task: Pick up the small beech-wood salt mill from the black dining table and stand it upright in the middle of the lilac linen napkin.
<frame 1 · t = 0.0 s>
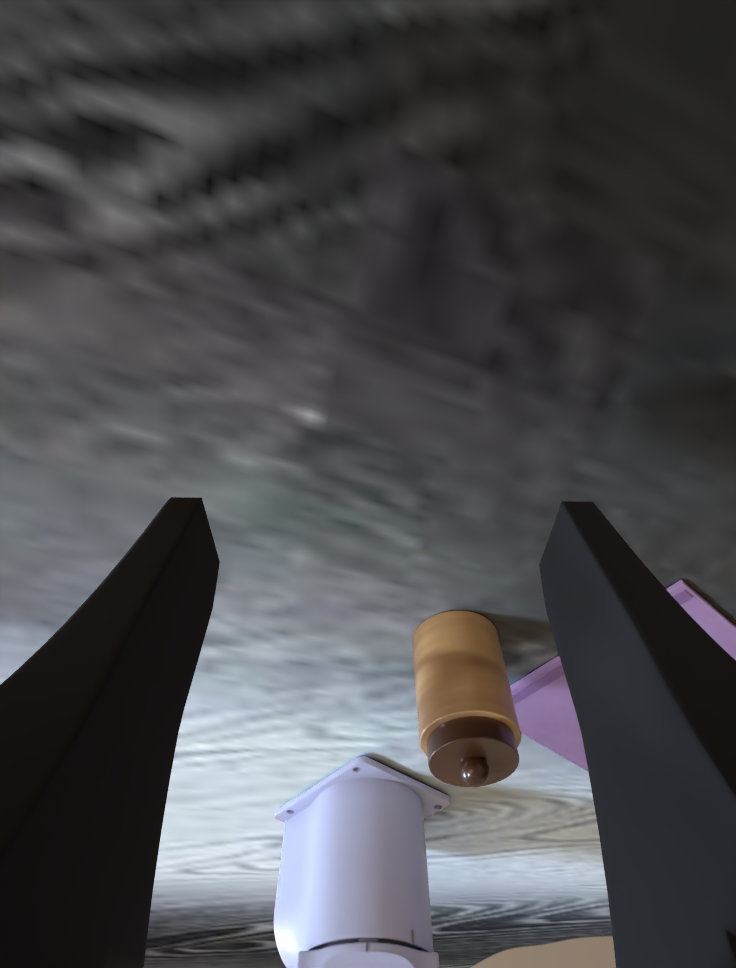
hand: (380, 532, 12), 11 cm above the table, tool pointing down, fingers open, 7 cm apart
salt mill: (454, 639, 29), on the table
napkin: (677, 721, 33), on the table
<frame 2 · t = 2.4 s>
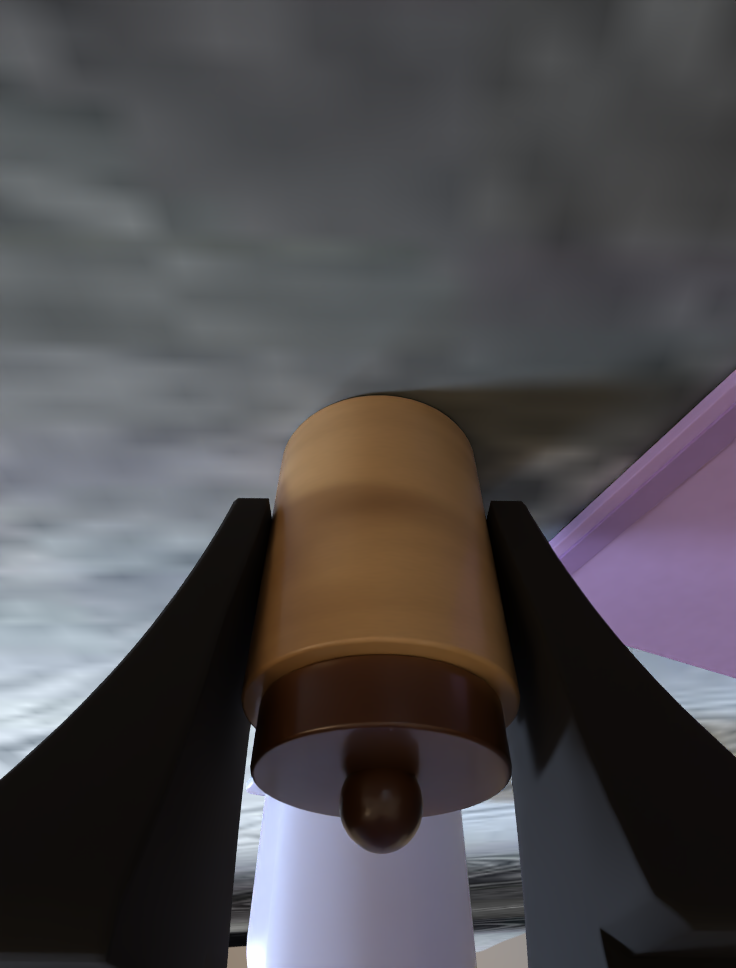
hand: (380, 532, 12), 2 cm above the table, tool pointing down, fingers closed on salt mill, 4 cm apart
salt mill: (378, 473, 13), on the table, touching gripper
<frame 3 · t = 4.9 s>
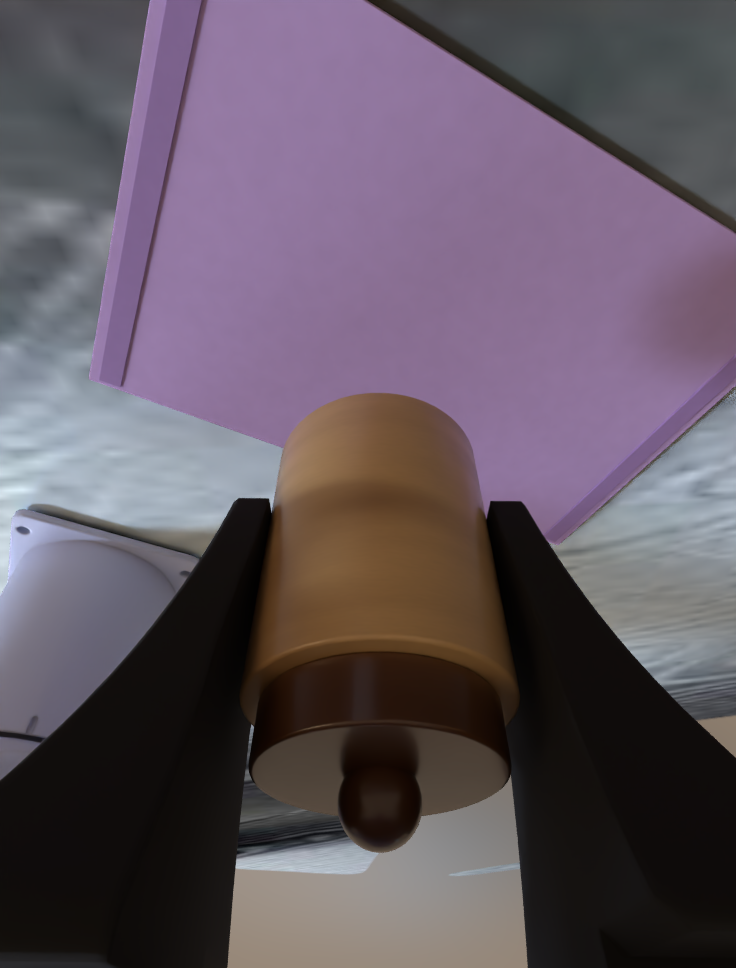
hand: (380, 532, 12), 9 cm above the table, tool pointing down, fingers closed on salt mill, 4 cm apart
salt mill: (377, 471, 13), point 7 cm above the table, touching gripper
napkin: (438, 335, 18), on the table
when the fingers open (2 cm above the table, at t = 7.2 s): salt mill stays where it is, resting on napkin.
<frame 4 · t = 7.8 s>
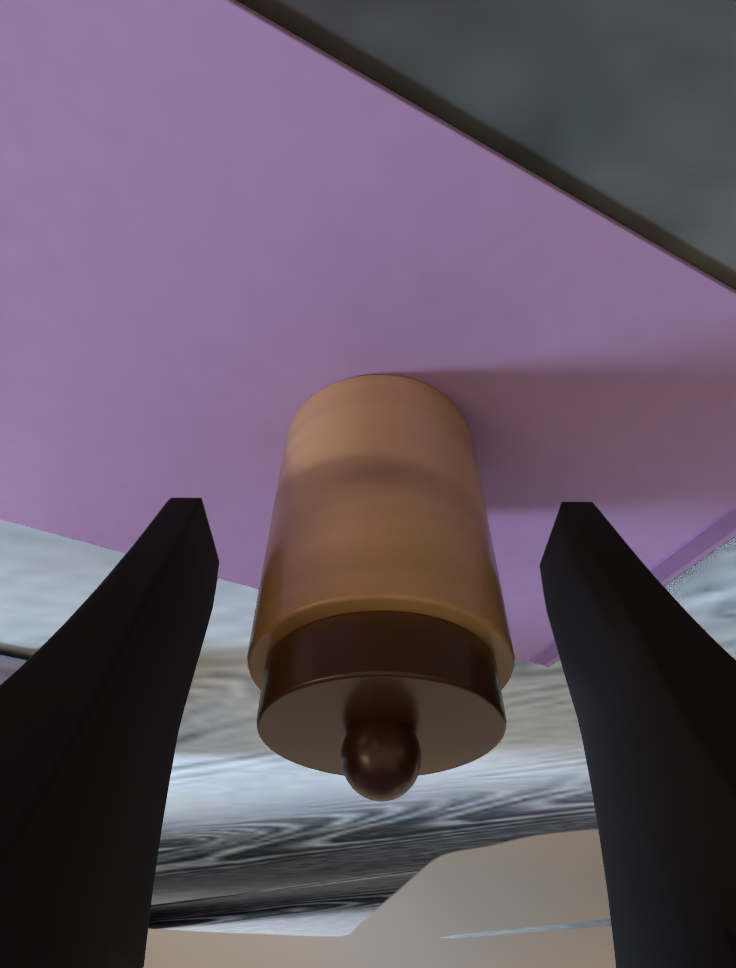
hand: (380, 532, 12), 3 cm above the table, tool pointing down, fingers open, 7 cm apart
salt mill: (378, 452, 13), resting on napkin
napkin: (380, 446, 14), on the table
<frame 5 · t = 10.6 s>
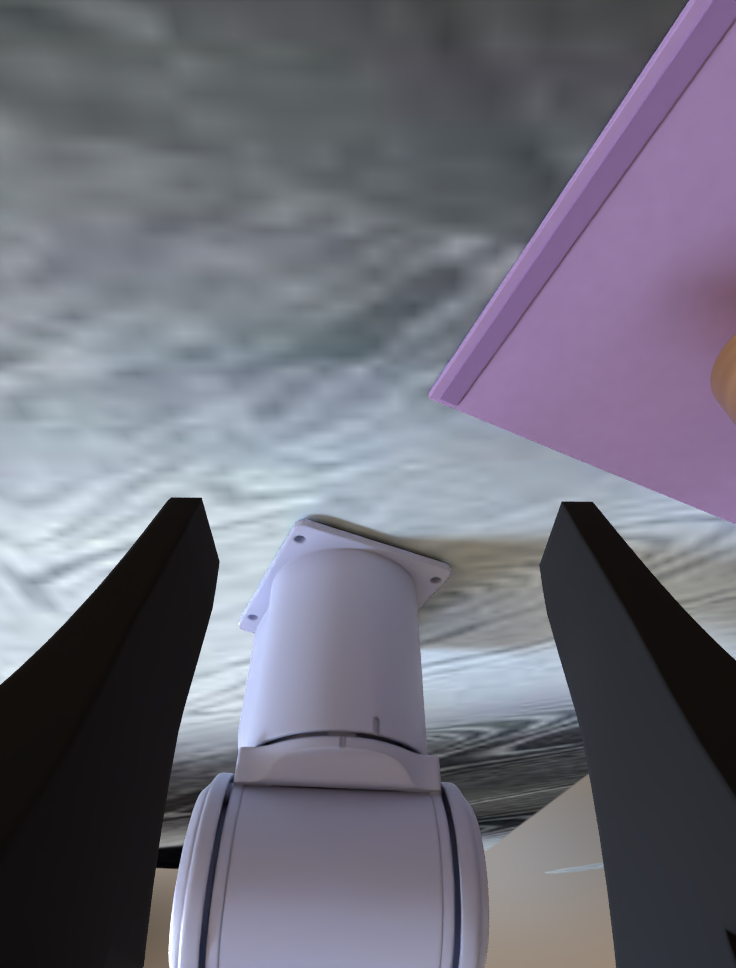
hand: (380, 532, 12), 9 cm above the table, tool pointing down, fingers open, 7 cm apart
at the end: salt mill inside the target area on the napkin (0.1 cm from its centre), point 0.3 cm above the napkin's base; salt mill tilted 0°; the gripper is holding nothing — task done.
